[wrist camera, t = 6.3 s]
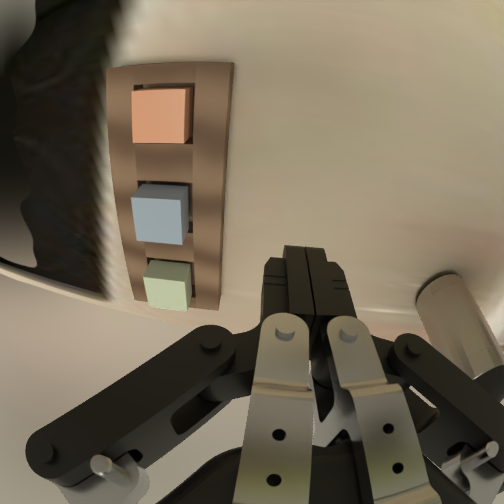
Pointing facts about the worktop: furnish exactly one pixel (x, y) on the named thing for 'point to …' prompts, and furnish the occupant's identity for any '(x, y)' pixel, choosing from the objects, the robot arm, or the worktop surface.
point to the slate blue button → (161, 213)
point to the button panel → (174, 170)
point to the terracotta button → (162, 114)
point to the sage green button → (168, 285)
